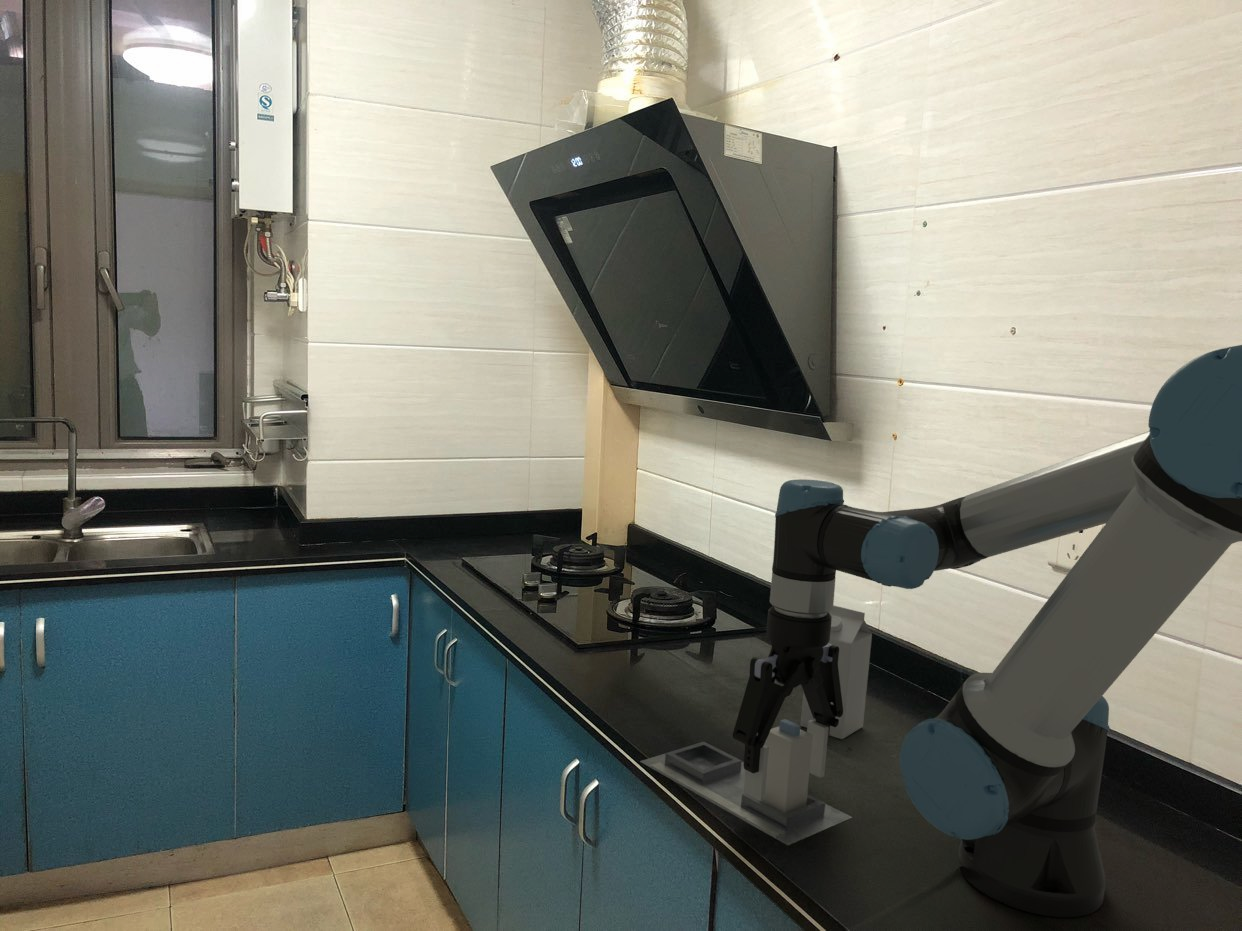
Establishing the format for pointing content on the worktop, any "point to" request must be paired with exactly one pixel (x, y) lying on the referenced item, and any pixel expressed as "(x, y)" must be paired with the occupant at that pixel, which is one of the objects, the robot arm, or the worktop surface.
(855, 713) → the milk carton
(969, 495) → the robot arm
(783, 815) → the panel
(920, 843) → the worktop surface
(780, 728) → the plug
